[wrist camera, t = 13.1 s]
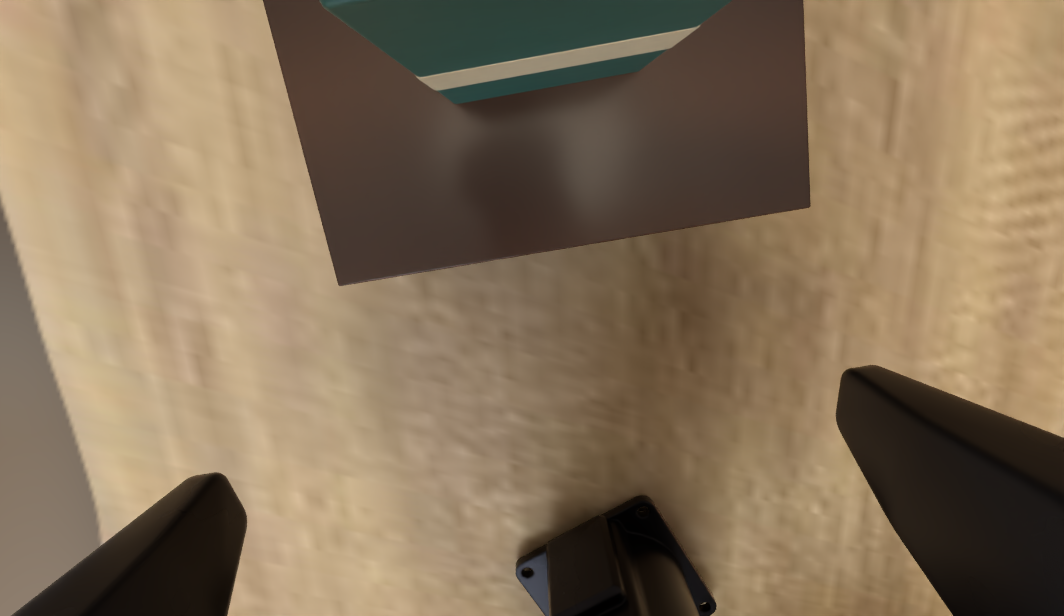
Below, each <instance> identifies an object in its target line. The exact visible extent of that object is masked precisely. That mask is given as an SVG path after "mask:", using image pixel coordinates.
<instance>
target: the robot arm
mask: <svg viewBox="0 0 1064 616" xmlns="http://www.w3.org/2000/svg"><path fill="white" fill-rule="evenodd" d="M836 421H837V425H838V428H839V430H840V432H841V434H842V436H843V438H844V440H845V442H846V443H847V445H848V447H849V449H850V451H851V453H852V454H853V456H854V458H855V460H856V462H857V464H858V466H859V467H860V469H861V471H862V473H863V475H864V477H865V478H866V480H867V482H868V484H869V486H870V488H871V489H872V491H873V493H874V495H875V497H876V499H877V500H878V502H879V504H880V506H881V508H882V510H883V511H884V513H885V515H886V516H887V518H888V520H889V522H890V523H891V525H892V526H893V528H894V530H895V531H896V533H897V534H898V536H899V537H900V539H901V540H902V542H903V543H904V545H905V546H906V548H907V549H908V551H909V552H910V553H911V555H912V556H913V558H914V559H915V561H916V562H917V564H918V565H919V567H920V568H921V569H922V571H923V572H924V574H925V575H926V577H927V578H928V580H929V581H930V583H931V584H932V585H933V587H934V588H935V590H936V591H937V593H938V594H939V596H940V597H941V599H942V600H943V601H944V603H945V604H946V606H947V607H948V609H949V610H950V612H951V613H952V615H953V616H1064V438H1063V437H1060V436H1058V435H1055V434H1052V433H1050V432H1047V431H1045V430H1042V429H1040V428H1037V427H1034V426H1032V425H1029V424H1027V423H1024V422H1022V421H1019V420H1016V419H1014V418H1011V417H1009V416H1006V415H1004V414H1001V413H998V412H996V411H993V410H991V409H988V408H985V407H983V406H980V405H978V404H975V403H973V402H970V401H967V400H965V399H962V398H960V397H957V396H955V395H952V394H949V393H947V392H944V391H942V390H939V389H937V388H934V387H931V386H929V385H926V384H924V383H921V382H919V381H916V380H913V379H911V378H908V377H906V376H903V375H900V374H898V373H895V372H893V371H890V370H888V369H885V368H882V367H880V366H877V365H868V366H862V367H856V368H850V369H847V370H846V371H844V373H843V374H842V377H841V381H840V388H839V395H838V402H837V409H836ZM640 507H647V509H646V510H645V511H642V512H641V511H638V509H639V508H640ZM246 528H247V516H246V512H245V509H244V507H243V506H242V504H241V502H240V500H239V499H238V497H237V495H236V493H235V492H234V490H233V488H232V486H231V485H230V483H229V481H228V479H227V478H226V476H224V475H223V474H221V473H217V472H215V473H209V474H202V475H196V476H192V477H190V478H188V479H186V480H185V481H184V482H182V483H181V484H180V485H179V486H177V487H176V488H175V489H173V490H172V491H171V492H170V493H168V494H167V495H166V496H164V497H163V498H162V499H161V500H159V501H158V502H157V503H155V504H154V505H153V506H152V507H150V508H149V509H148V510H146V511H145V512H144V513H143V514H141V515H140V516H139V517H137V518H136V519H135V520H134V521H132V522H131V523H130V524H128V525H127V526H126V527H125V528H123V529H122V530H121V531H119V532H118V533H117V534H116V535H114V536H113V537H112V538H110V539H109V540H108V541H107V542H105V543H104V544H103V545H101V546H100V547H99V548H98V549H96V550H95V551H94V552H92V553H91V554H90V555H89V556H87V557H86V558H85V559H83V560H82V561H81V562H79V563H78V564H77V565H76V566H74V567H73V568H72V569H71V570H69V571H68V572H67V573H65V574H64V575H63V576H61V577H60V578H59V579H58V580H56V581H55V582H54V583H52V584H51V585H50V586H49V587H48V588H46V589H45V590H43V591H42V592H41V593H40V594H39V595H37V596H36V597H35V598H33V599H32V600H31V601H29V602H28V603H27V604H25V605H24V606H23V607H22V608H20V609H19V610H18V611H16V612H15V613H14V614H13V615H11V616H227V614H228V610H229V605H230V601H231V596H232V592H233V587H234V582H235V578H236V573H237V569H238V564H239V560H240V555H241V551H242V546H243V542H244V537H245V533H246ZM527 567H528V568H531V569H532V570H530V571H525V570H523V569H524V568H527ZM516 576H517V578H518V580H519V581H520V582H521V584H522V585H523V586H524V588H525V589H526V590H527V592H528V593H529V594H530V596H531V597H532V598H533V600H534V601H535V602H536V604H537V605H538V606H539V608H540V609H541V610H542V612H543V613H544V614H545V616H710V615H711V614H713V613H714V612H715V610H716V607H717V605H716V602H715V600H714V598H713V595H712V594H711V592H710V590H709V589H708V587H707V586H706V584H705V583H704V581H703V579H702V578H701V576H700V575H699V573H698V572H697V570H696V568H695V567H694V565H693V564H692V562H691V561H690V559H689V557H688V556H687V554H686V553H685V551H684V550H683V548H682V546H681V545H680V543H679V542H678V540H677V539H676V537H675V535H674V534H673V532H672V531H671V529H670V528H669V526H668V524H667V523H666V521H665V520H664V518H663V517H662V515H661V513H660V512H659V510H658V509H657V507H656V506H655V504H654V502H653V501H652V500H651V499H650V498H649V497H647V496H638V497H635V498H633V499H631V500H629V501H627V502H625V503H624V504H622V505H620V506H618V507H616V508H614V509H612V510H610V511H608V512H606V513H605V514H603V515H601V516H596V517H594V518H592V519H591V520H589V521H587V522H585V523H583V524H581V525H579V526H577V527H575V528H573V529H572V530H570V531H568V532H566V533H564V534H562V535H560V536H558V537H556V538H555V539H553V540H551V541H549V542H548V544H546V545H544V546H542V547H540V548H538V549H536V550H534V551H533V552H531V553H529V554H527V555H525V556H523V557H521V558H520V559H519V560H518V561H517V563H516ZM704 602H707V603H706V604H704V605H700V604H702V603H704Z"/></svg>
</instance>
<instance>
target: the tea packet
mask: <svg viewBox="0 0 1064 616" xmlns="http://www.w3.org/2000/svg"><path fill="white" fill-rule="evenodd" d="M319 1H320V3H321V4H322V6H323V7H324V8H325V9H326V10H327V11H329V12H330V13H331V14H333V15H334V16H335V17H337V18H338V19H340V20H341V21H342V22H344V23H345V24H346V25H348V26H349V27H350V28H352V29H353V30H355V31H356V32H357V33H359V34H360V35H361V36H363V37H364V38H365V39H367V40H368V41H370V42H371V43H372V44H374V45H375V46H376V47H378V48H379V49H380V50H382V51H383V52H385V53H386V54H387V55H389V56H390V57H391V58H393V59H394V60H395V61H397V62H398V63H400V64H401V65H402V66H404V67H405V68H406V69H408V70H409V71H411V72H412V73H413V74H415V75H416V77H417V78H418V79H419V80H421V81H422V82H423V83H425V84H426V85H428V86H429V87H430V88H432V89H433V90H436V91H438V92H439V93H441V94H442V95H443V96H445V97H446V98H447V99H449V100H450V101H451V102H453V103H454V104H460V103H465V102H471V101H477V100H482V99H488V98H493V97H499V96H504V95H510V94H515V93H521V92H527V91H532V90H538V89H543V88H549V87H554V86H560V85H565V84H571V83H577V82H582V81H588V80H593V79H599V78H604V77H610V76H615V75H621V74H626V73H632V72H638V71H640V70H641V69H642V68H644V67H645V66H646V65H648V64H649V63H650V62H652V61H653V60H654V59H656V58H657V57H658V56H659V55H661V54H662V53H663V52H665V51H666V50H667V49H670V48H672V47H673V46H675V45H676V44H677V43H679V42H680V41H681V40H683V39H684V38H685V37H687V36H688V35H689V34H691V33H692V32H693V31H695V30H696V29H697V28H699V27H700V24H702V23H703V22H704V21H706V20H707V19H708V18H710V17H711V16H712V15H714V14H715V13H716V12H718V11H719V10H720V9H722V8H723V7H724V6H725V5H727V4H728V3H729V2H731V1H732V0H319Z"/></svg>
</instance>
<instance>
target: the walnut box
mask: <svg viewBox="0 0 1064 616" xmlns="http://www.w3.org/2000/svg"><path fill="white" fill-rule="evenodd" d="M263 2H264V6H265V10H266V14H267V17H268V21H269V25H270V29H271V33H272V36H273V40H274V44H275V48H276V51H277V55H278V59H279V63H280V66H281V70H282V74H283V78H284V82H285V85H286V89H287V93H288V97H289V100H290V104H291V108H292V112H293V115H294V119H295V123H296V127H297V131H298V134H299V138H300V142H301V146H302V149H303V153H304V157H305V161H306V164H307V168H308V172H309V176H310V180H311V183H312V187H313V191H314V195H315V198H316V202H317V206H318V210H319V214H320V217H321V221H322V225H323V229H324V232H325V236H326V240H327V244H328V247H329V251H330V255H331V259H332V263H333V266H334V270H335V274H336V278H337V281H338V285H339V286H344V285H350V284H356V283H362V282H368V281H373V280H379V279H385V278H391V277H397V276H403V275H409V274H415V273H421V272H427V271H433V270H439V269H445V268H451V267H457V266H463V265H469V264H475V263H481V262H487V261H493V260H499V259H505V258H511V257H517V256H523V255H529V254H535V253H541V252H547V251H553V250H559V249H565V248H571V247H577V246H583V245H589V244H595V243H601V242H607V241H613V240H619V239H625V238H631V237H637V236H643V235H649V234H655V233H661V232H667V231H673V230H678V229H684V228H690V227H696V226H702V225H708V224H714V223H720V222H726V221H732V220H738V219H744V218H750V217H756V216H762V215H768V214H774V213H780V212H786V211H792V210H798V209H804V208H809V207H810V180H809V152H808V123H807V94H806V66H805V37H804V8H803V0H732V1H731V2H729V3H728V4H727V5H725V6H724V7H723V8H722V9H720V10H719V11H718V12H716V13H715V14H714V15H712V16H711V17H710V18H708V19H707V20H706V21H704V22H703V23H702V24H700V27H699V28H697V29H696V30H695V31H693V32H692V33H691V34H689V35H688V36H687V37H685V38H684V39H683V40H681V41H680V42H679V43H677V44H676V45H675V46H673V47H672V48H670V49H667V50H666V51H665V52H663V53H662V54H661V55H659V56H658V57H657V58H656V59H654V60H653V61H652V62H650V63H649V64H648V65H646V66H645V67H644V68H642V69H641V70H640V71H638V72H632V73H626V74H621V75H615V76H610V77H604V78H599V79H593V80H588V81H582V82H577V83H571V84H565V85H560V86H554V87H549V88H543V89H538V90H532V91H527V92H521V93H515V94H510V95H504V96H499V97H493V98H488V99H482V100H477V101H471V102H465V103H460V104H454V103H453V102H451V101H450V100H449V99H447V98H446V97H445V96H443V95H442V94H441V93H439V92H438V91H436V90H433V89H432V88H430V87H429V86H428V85H426V84H425V83H423V82H422V81H421V80H419V79H418V78H417V77H416V75H415V74H413V73H412V72H411V71H409V70H408V69H406V68H405V67H404V66H402V65H401V64H400V63H398V62H397V61H395V60H394V59H393V58H391V57H390V56H389V55H387V54H386V53H385V52H383V51H382V50H380V49H379V48H378V47H376V46H375V45H374V44H372V43H371V42H370V41H368V40H367V39H365V38H364V37H363V36H361V35H360V34H359V33H357V32H356V31H355V30H353V29H352V28H350V27H349V26H348V25H346V24H345V23H344V22H342V21H341V20H340V19H338V18H337V17H335V16H334V15H333V14H331V13H330V12H329V11H327V10H326V9H325V8H324V7H323V6H322V4H321V3H320V1H319V0H263Z"/></svg>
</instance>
